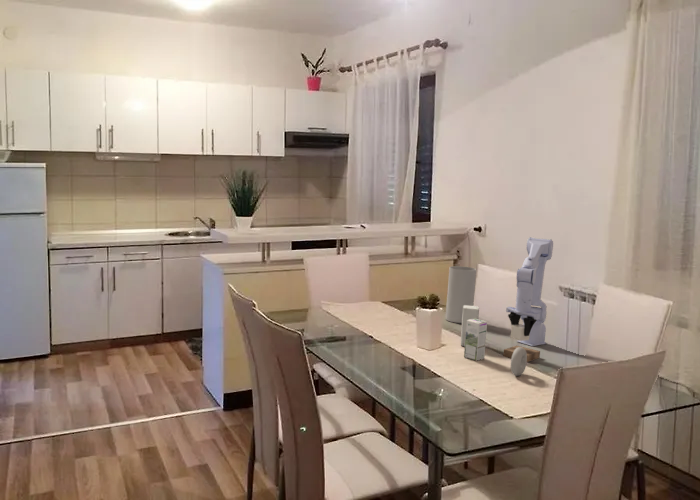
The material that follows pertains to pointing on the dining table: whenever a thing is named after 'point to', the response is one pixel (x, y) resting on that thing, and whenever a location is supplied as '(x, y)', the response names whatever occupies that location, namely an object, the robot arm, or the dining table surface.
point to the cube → (518, 332)
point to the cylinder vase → (459, 291)
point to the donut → (518, 361)
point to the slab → (530, 352)
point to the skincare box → (468, 313)
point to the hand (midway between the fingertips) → (520, 334)
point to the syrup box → (475, 339)
